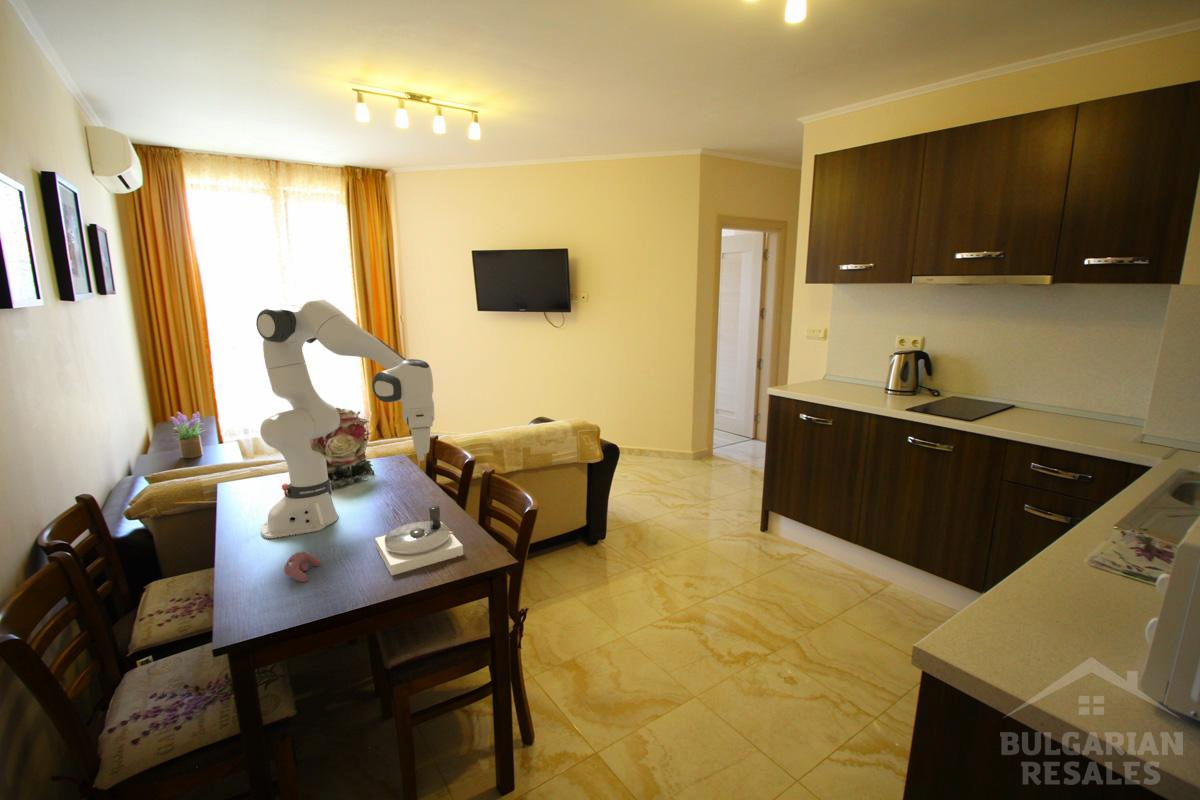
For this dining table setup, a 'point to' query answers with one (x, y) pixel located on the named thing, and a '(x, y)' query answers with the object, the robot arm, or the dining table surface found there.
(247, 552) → the dining table surface
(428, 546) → the handwheel
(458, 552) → the wheel base
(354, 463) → the rose bouquet
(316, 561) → the pink curved piece
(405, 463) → the dining table surface
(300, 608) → the dining table surface
